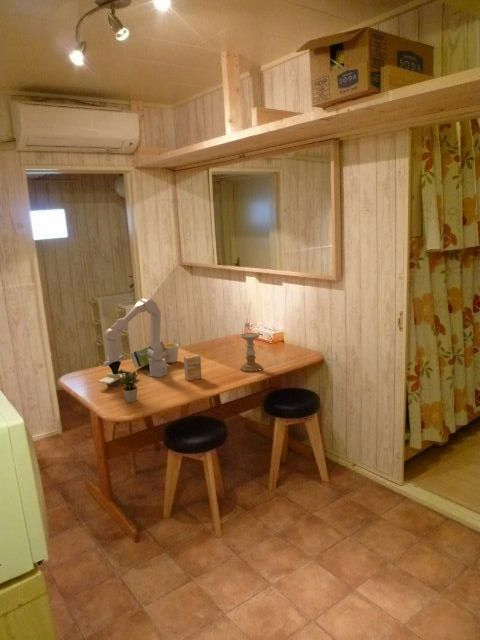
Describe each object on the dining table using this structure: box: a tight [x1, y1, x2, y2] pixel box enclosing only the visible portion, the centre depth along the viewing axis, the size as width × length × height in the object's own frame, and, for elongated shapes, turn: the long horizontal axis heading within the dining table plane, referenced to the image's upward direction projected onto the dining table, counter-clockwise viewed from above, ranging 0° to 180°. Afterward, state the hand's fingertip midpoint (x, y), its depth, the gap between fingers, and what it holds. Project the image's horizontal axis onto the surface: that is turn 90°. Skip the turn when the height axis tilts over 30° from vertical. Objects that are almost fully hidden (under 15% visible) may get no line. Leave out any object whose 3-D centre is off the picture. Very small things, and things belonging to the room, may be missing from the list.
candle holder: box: [240, 332, 263, 372], centre depth 272 cm, size 12×12×20 cm
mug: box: [163, 342, 180, 364], centre depth 293 cm, size 14×10×10 cm
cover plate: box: [98, 372, 125, 385], centre depth 255 cm, size 13×8×2 cm, turn 154°
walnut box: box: [105, 368, 137, 387], centre depth 262 cm, size 13×10×4 cm
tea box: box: [129, 341, 168, 369], centre depth 283 cm, size 15×10×15 cm
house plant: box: [115, 369, 143, 403], centre depth 234 cm, size 14×14×16 cm
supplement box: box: [183, 353, 203, 382], centre depth 260 cm, size 8×5×13 cm, turn 118°
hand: (115, 374), depth 258 cm, fingers closed
